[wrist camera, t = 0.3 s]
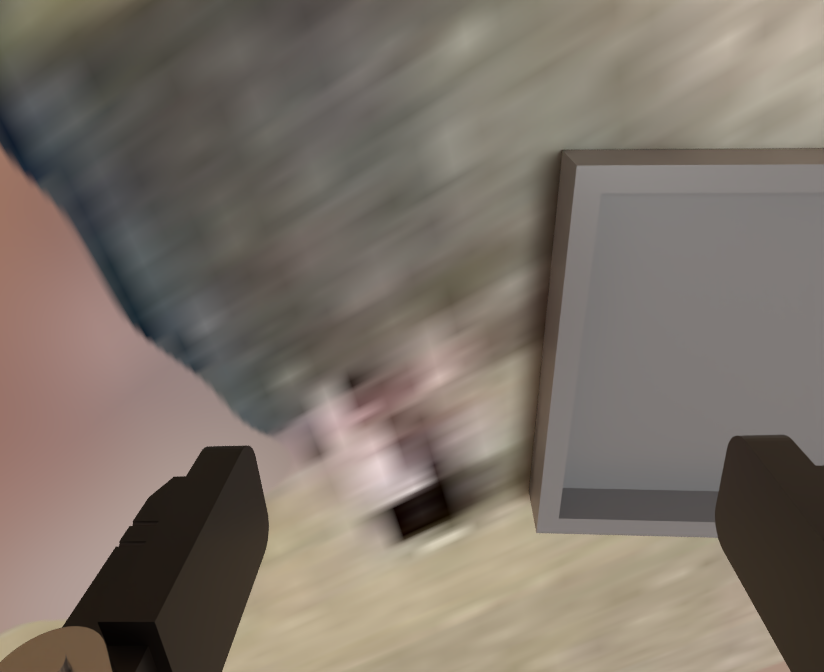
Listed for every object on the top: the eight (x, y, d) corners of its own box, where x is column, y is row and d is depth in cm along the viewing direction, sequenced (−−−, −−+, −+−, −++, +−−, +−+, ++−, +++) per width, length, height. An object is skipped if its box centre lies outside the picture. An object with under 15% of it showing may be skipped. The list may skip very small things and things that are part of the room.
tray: (562, 149, 24) (576, 165, 22) (1139, 146, 23) (1230, 162, 20) (529, 491, 32) (536, 533, 30) (951, 500, 31) (998, 544, 29)
